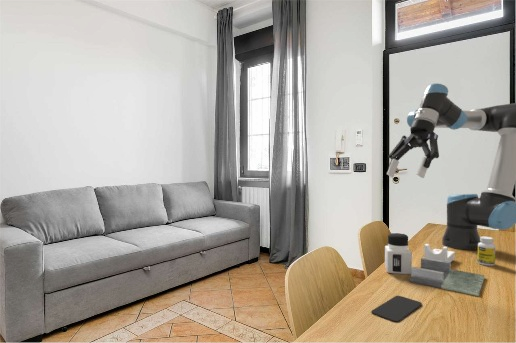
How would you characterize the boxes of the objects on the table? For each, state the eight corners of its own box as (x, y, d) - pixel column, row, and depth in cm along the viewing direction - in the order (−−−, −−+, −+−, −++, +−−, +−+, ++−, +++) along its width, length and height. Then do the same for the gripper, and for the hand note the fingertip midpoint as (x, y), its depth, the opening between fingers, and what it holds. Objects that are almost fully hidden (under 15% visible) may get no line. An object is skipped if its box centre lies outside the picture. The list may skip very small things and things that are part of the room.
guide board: (423, 267, 121) (423, 256, 121) (484, 278, 110) (484, 266, 110) (409, 281, 107) (409, 269, 107) (478, 296, 96) (478, 282, 96)
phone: (369, 311, 86) (396, 294, 96) (369, 314, 86) (396, 297, 96) (397, 321, 81) (423, 302, 91) (397, 325, 81) (423, 305, 91)
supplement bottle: (476, 264, 124) (476, 237, 124) (478, 260, 128) (479, 235, 128) (493, 267, 121) (494, 240, 120) (496, 263, 125) (496, 237, 124)
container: (411, 274, 114) (412, 236, 113) (387, 273, 116) (387, 235, 115) (407, 267, 121) (407, 231, 121) (384, 266, 123) (384, 231, 123)
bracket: (445, 269, 120) (445, 248, 119) (424, 265, 125) (424, 245, 124) (454, 260, 129) (454, 241, 129) (434, 257, 134) (434, 238, 134)
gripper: (391, 123, 132) (371, 171, 128) (448, 112, 109) (427, 170, 105) (404, 132, 134) (385, 180, 130) (463, 124, 111) (442, 181, 107)
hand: (404, 176), depth 118 cm, fingers open, 13 cm apart
